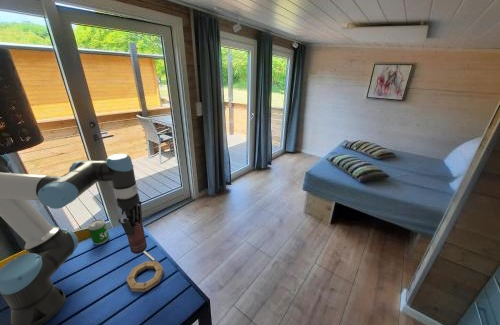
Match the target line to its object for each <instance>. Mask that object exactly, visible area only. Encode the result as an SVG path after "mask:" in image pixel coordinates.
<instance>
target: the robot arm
mask: <svg viewBox="0 0 500 325" xmlns="http://www.w3.org/2000/svg"><path fill="white" fill-rule="evenodd" d="M10 165H11V158H10V157H9V155H8V154H7V153H6V154H4V155H0V217H1V218H2V220H4V221H5V222H6V224H8V226H9V227H11V228H12V229H13V231H14V232H15V233H17V235H18V236H20V237H21V239H22V240H24V242H25V245H24V250H26V251H27V253H24V254H21V255H18V256H17V257H16V258H13V259H11V260H9V261H8V262H6V263H5V264H4V265H3V266H1V268H0V294H1V296H2V297H3V299H4V300H5V302H6V303H7V305H8V307H9V309H10V318H9V319H10V320H9V322H10V325H45V323H47V322H48V321H50V320H51V319H52V318H54V317H55V316H56V315H57V314H58V313H59V312H60V311H61V310H62V308H63V306H64V305H65V303H66V295H65V292H64V290H63V289H61V288H60V287H58V286H57V285H55V284H54V283H53V282H52V279H51V277H52V276H53V275H54V274H55V273H56V272H57V271H58V270H59V268H60V267H61V266H62V265H63V264H64V263H66V261H67V260H68V259H69V258H70V257H71V256H72V255H73V253H74V251H76V249H77V248H78V245H79V239H78V236H77V235H76V233H75V232H74V231H73V230H69V229H68V228H60V227H59V226H52V225H51V224H50V223H49V221H48V220H47V219H46V218H45V217H44V216H43V215H42V214H41V212H40V211H39V210H38V209H37V208H36V207H35V206H34V205H33V203H32V202H31V201H39V202H40V203H41V204H42V205H43V206H44V207H49V208H50V209H54V210H57V209H58V210H59V209H62V208H64V207H66V206H67V205H69V204H71V203H73V202H74V201H75V200H76V199H77V198H79V196H81V195H83V194H84V193H85V192H86V191H87V190H89V189H90V188H91V187H92V186H95V184H96V183H99V182H101V183H110V182H111V184H112V189H113V193H114V197H115V199H116V200H115V202H116V204H117V207H118V208H120V209H121V218H119V219H118V222H119V223H120V224H121V227H122V229H123V231H124V233H125V235H126V236H127V235H128V236H133V235H134V231H133V229H132V227H134V226H135V222H138V221H139V219H140V220H141V221H142V222H143V215H142V212H143V211H142V200H140V195H139V190H138V185H137V180H136V175H135V170H134V165H133V161H132V158H131V155H129V154H126V153H118V154H115V153H114V154H112V155H110V156H109V155H108V157H106V160H89V159H87V160H86V159H85V160H77V161H74V162H72V163H71V166H70V167H69V170H68V172H67V173H65V174H62V175H45V174H29V173H28V174H27V173H14V172H11V171H10V170H9V167H10Z"/></svg>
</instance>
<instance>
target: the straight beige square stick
mask: <svg viewBox="0 0 500 325" xmlns="http://www.w3.org/2000/svg"><path fill="white" fill-rule="evenodd" d="M142 253H143V254H144V255H146V256H147V257H148V258H149V259H150V261H156V259H155V258H154V257H153V256H152V255H151V254H149V253H148V252H147V251H146V250H145V251H143V252H142Z"/></svg>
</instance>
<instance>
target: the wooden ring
mask: <svg viewBox="0 0 500 325" xmlns="http://www.w3.org/2000/svg"><path fill="white" fill-rule="evenodd" d="M147 269H148V270H149V269H153V270H155V274H154V276H153V277H152V278H151V279H149V280H147V281H145V282H137V281H136V280H135V279H136V278H137V276H138V274H139V273H141V272H143V271H145V270H147ZM163 275H164V268H163V266H162V265H161V263H160V262H159V261H156V260H155V261H153V260H146V261H144V262H142V263H140V264H138V265H136V266H134V267H133V268H132V269H131V271H130V272H129V274H128V276H127V278H126V283H127V285H128V288H129V289H130V291H131V292H137V293H138V292H140V293H141V292H142V293H143V292H144V293H145V292H147V291H149V290H151V289H152V288H154V287H155V286H156V285H158V284H159V283H160V282H161V279H162V277H163Z"/></svg>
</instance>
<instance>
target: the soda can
mask: <svg viewBox="0 0 500 325" xmlns="http://www.w3.org/2000/svg"><path fill="white" fill-rule="evenodd" d="M87 229H88V232H89V235H90V238H91V241H92V244H95V245H102V244H105V243H106V242H107V241H108V240H109V238H110V235H109V231H108V230H109V229H108V227H107V225H106V221H105V220H102V219H95V220H93V221H91V222H90V223H89V224H88V226H87Z"/></svg>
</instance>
